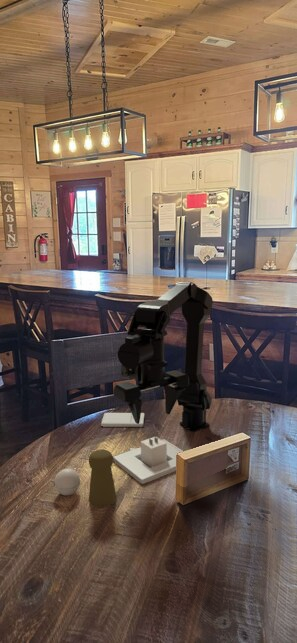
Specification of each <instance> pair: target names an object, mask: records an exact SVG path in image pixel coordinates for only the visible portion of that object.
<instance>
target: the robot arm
mask: <svg viewBox="0 0 297 643" xmlns="http://www.w3.org/2000/svg"><path fill="white" fill-rule="evenodd" d="M213 300H214V299H213V297H212V295H210V293H209V292H208V291H207V290H205V289H203V288H201V287H199V286H198V284H196V283H194V282H192V281H178V282H175V284H174V286H173V287H171V288H170V289H169V290H168V291H166V292H165V293H163V294H162V295H161V296H159V297H158V298H157V299H155V300H152V301H151V300H150V301H146V302H143V303H141V304H139V305H138V306H137V307H136V309H135V311H134V313H133V316H132V319H131V322H130V325H129V328H128V330H127V334H126V335H127V337H125V338H124V343H122V344H121V345H120V346H119V348H118V351H117V358H118V361H119V363H120V364H121V366H120V374H121V376H122V378H127V379H128V380H129V381H126V382H121V383H116V384H115V385H114V387H113V396H114V397H116V398H118V399H119V400H121V401H123V402H125V403H126V404H127V407H129V410H130V413H132V415H133V418H134V420H135V422H136V423H137V424H139V422H140V415H141V413H142V404H143V400H142V399H141V398H140V397H141V396H142V393H143V392H147V391H151V390H154V389H158V388H161V387H162V388H163V391H164V402H165V403H164V404H165V406H164V407H165V414H167V415H171V412H172V410H173V408H174V407H175V404H176V403H177V404H178V406H181V407H182V412H181V415H182V416H181V421H180V422H179V425H181V427H182V426H183V427H185V428H186V429H188V430H190V431H191V432H197V431H199V430H201V429H204V428H207V427H210V423H209V422H207V410H210V409H211V405H212V400H213V399H212V396H211V395H210V393H209V392H208V390H207V381H206V379H205V378H204V376H203V373H202V369H203V367H202V366H203V351H204V350H203V349H204V348H203V346H204V345H203V344H204V330H205V322H206V321H207V320H208V319H209V317H210V316H211V311H212V310H211V309H212V308H213V304H214V301H213ZM180 307H181V314H182V315H181V316H183V319H184V320H185V322H186V334H185V336H186V337H185V353H184V354H185V355H184V371H182V372H181V371H179V370H171V371H166V372H165V368H166V367H168V361H166V360H165V343H164V342H165V339H164V338H165V337H166V336H167V335H168V332H167V330H166V328H167V326H168V325H169V323H171V315H172V314H173V313H174V312H175V311H177V310H178V309H180ZM131 380H134V381H135V382H138V384H135V383H132V382H131ZM139 382H140V383H139Z"/></svg>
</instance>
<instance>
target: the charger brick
mask: <svg viewBox="0 0 297 643" xmlns="http://www.w3.org/2000/svg"><path fill="white" fill-rule="evenodd" d="M140 447H141V460H142V461H143V462H145V463H146V464H147V465H149V466H150V467H154V466H157V465H159V464H162V463H165V462H167V443H165V442H164V441H162V439H160V438H159V437H157V436H153V437H150V438H147V439H144V440H141V441H140Z"/></svg>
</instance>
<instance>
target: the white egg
mask: <svg viewBox="0 0 297 643" xmlns="http://www.w3.org/2000/svg"><path fill="white" fill-rule="evenodd" d="M80 484H81V478H80V475H79V474H78V472H77V471H76V470H74V469H73V468H63V469H61V470H60V471H59V472H58V473H56V476H55V478H54V482H53V486H54V488H55V489H56V491H57V493H59V494H61V495H62V496H71V495H73V494H74V493H76V492H77V491H78V489H79V488H80Z"/></svg>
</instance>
